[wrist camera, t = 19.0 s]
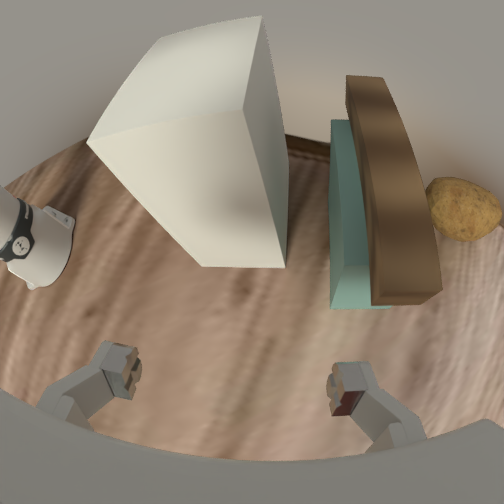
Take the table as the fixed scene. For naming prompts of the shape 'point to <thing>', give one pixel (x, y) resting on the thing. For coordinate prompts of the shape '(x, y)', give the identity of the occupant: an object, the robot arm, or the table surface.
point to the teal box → (347, 225)
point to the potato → (462, 209)
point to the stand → (205, 143)
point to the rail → (391, 199)
